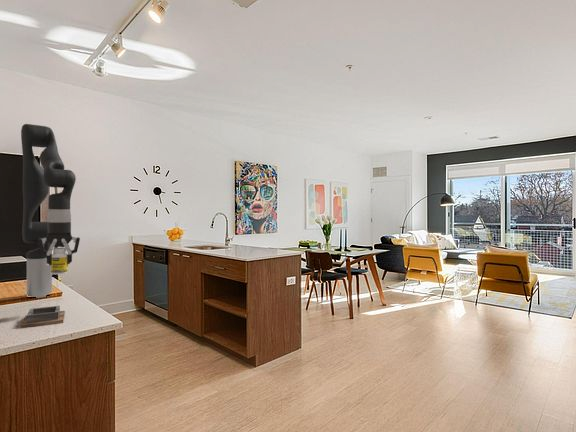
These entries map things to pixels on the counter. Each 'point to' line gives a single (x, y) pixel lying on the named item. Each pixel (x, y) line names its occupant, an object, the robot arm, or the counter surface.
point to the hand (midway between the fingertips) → (59, 264)
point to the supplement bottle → (59, 261)
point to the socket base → (43, 316)
